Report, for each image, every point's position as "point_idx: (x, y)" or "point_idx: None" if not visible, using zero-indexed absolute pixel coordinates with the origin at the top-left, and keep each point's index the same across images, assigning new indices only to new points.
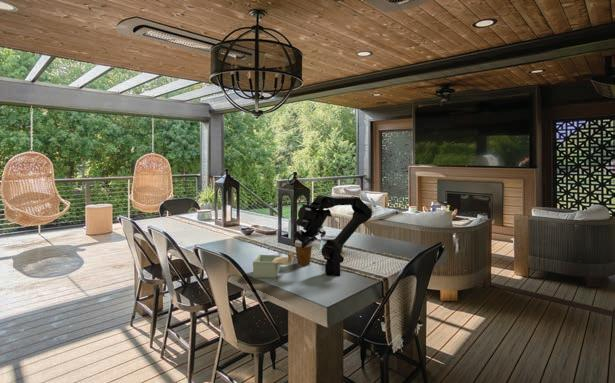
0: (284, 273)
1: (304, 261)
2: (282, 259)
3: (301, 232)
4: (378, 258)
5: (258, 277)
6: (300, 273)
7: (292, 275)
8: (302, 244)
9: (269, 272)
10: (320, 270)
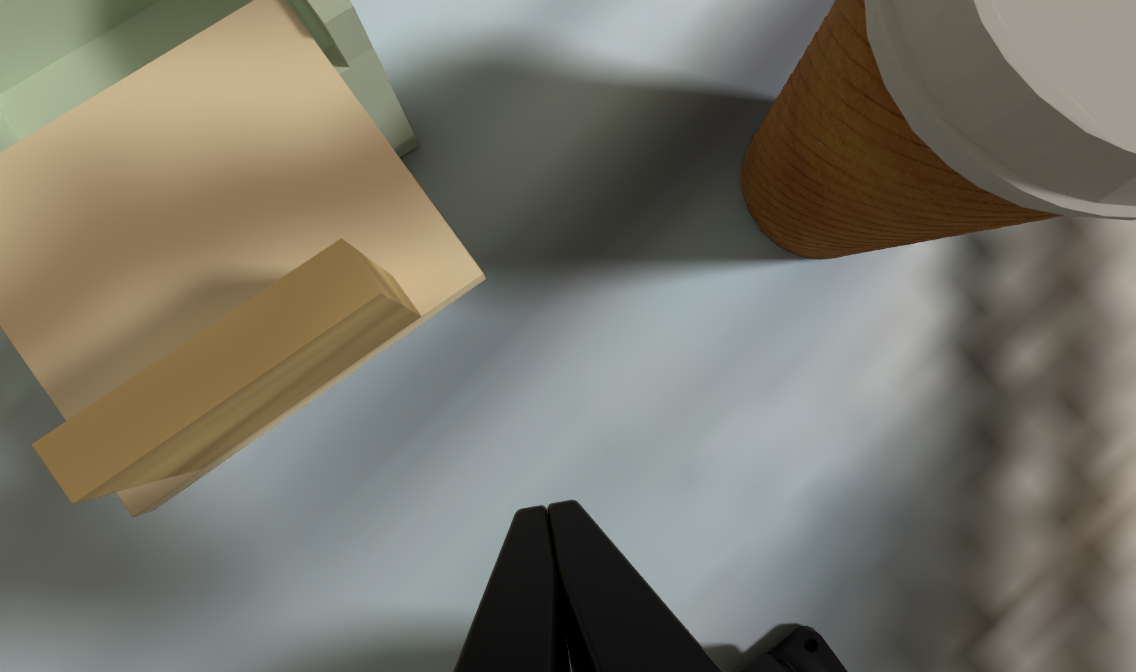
0: None
1: (797, 228)
2: (238, 207)
3: None
4: None
5: None
6: (514, 418)
7: (387, 399)
8: (477, 648)
9: None
10: (776, 524)
